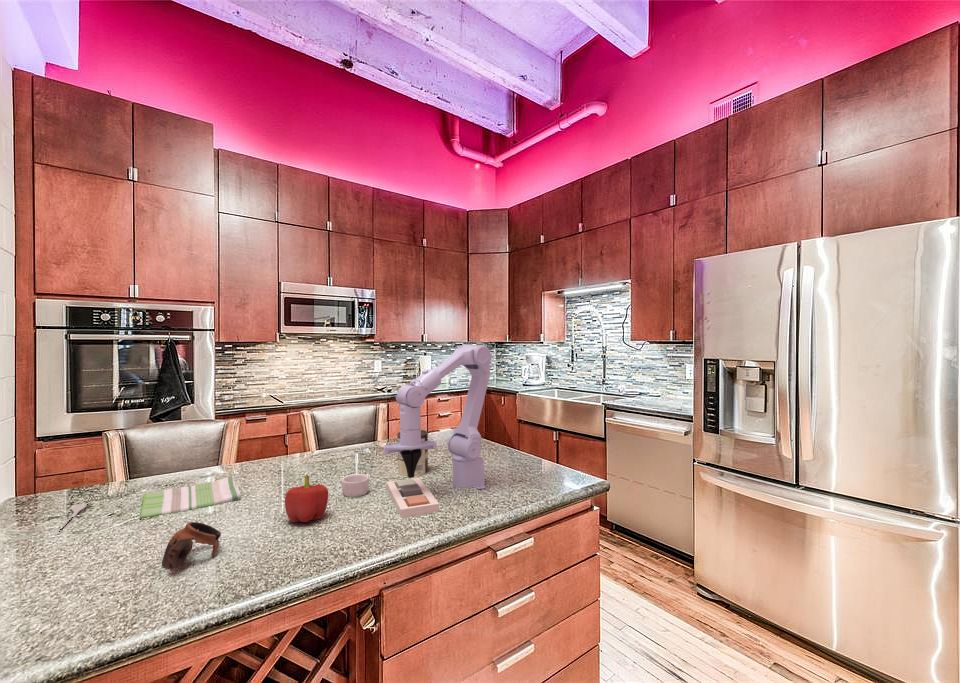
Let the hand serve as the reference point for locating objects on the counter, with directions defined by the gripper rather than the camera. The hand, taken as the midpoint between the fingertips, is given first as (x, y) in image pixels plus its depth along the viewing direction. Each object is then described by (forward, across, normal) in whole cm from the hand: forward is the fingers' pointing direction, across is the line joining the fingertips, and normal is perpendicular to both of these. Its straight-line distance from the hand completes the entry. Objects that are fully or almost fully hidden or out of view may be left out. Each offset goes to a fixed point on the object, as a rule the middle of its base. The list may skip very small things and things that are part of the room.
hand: (410, 476), depth 120 cm
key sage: (+7, 0, -7) cm, 10 cm away
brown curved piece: (+8, +50, +13) cm, 52 cm away
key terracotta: (+7, 0, +7) cm, 10 cm away
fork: (+8, +84, -23) cm, 87 cm away
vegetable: (+8, +27, 0) cm, 28 cm away
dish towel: (+8, +58, -26) cm, 64 cm away
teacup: (+8, +14, -12) cm, 20 cm away
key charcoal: (+6, 0, 0) cm, 6 cm away
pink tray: (+7, 0, 0) cm, 7 cm away
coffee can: (+8, -6, -24) cm, 26 cm away
